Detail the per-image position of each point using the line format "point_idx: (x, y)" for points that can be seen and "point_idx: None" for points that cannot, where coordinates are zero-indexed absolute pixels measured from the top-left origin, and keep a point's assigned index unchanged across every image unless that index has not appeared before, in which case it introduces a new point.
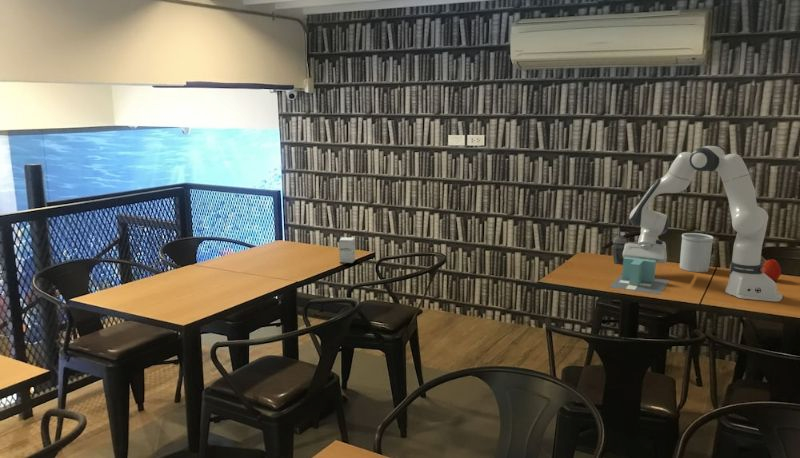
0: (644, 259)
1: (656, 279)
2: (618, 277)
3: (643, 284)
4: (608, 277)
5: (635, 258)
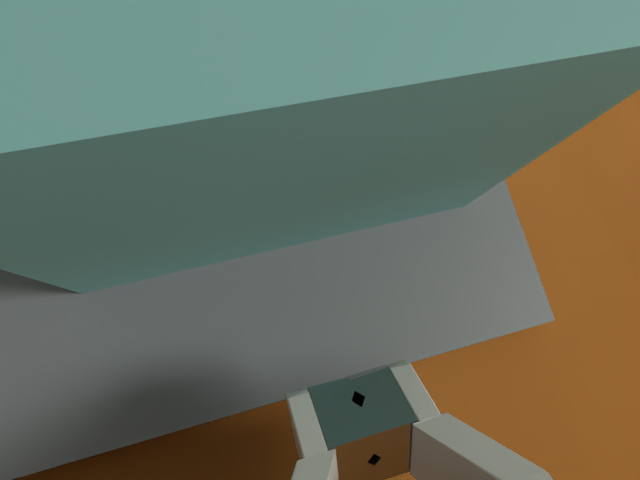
0: (184, 59)
1: (82, 389)
2: None
3: None
4: (592, 169)
5: (445, 10)
